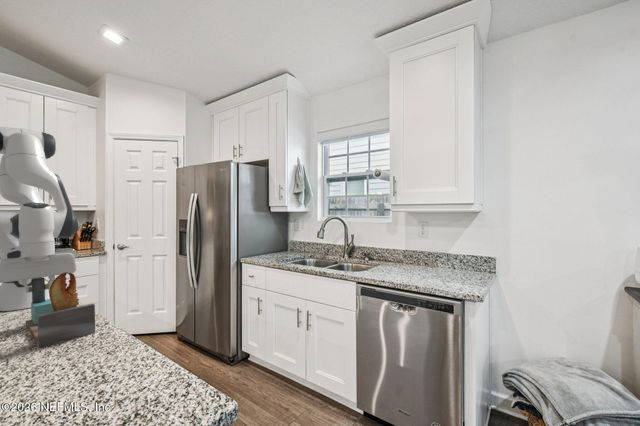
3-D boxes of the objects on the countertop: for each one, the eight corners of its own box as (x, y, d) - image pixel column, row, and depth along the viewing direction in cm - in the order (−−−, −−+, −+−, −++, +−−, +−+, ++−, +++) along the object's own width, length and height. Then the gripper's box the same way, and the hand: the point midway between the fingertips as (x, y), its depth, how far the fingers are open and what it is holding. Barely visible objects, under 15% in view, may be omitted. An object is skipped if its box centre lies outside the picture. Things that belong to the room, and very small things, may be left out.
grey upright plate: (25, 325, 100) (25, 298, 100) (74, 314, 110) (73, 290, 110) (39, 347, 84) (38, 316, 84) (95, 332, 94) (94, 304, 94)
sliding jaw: (31, 319, 101) (30, 278, 100) (70, 311, 109) (69, 273, 108) (34, 324, 96) (33, 282, 96) (75, 315, 104) (74, 276, 104)
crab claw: (50, 341, 88) (48, 275, 87) (49, 336, 91) (47, 272, 91) (80, 334, 93) (78, 271, 92) (78, 329, 96) (76, 268, 96)
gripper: (74, 246, 110) (74, 282, 111) (-8, 253, 95) (-7, 295, 95) (78, 247, 107) (79, 285, 107) (-6, 255, 91) (-5, 299, 91)
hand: (38, 290), depth 101 cm, fingers closed on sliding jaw, 3 cm apart
